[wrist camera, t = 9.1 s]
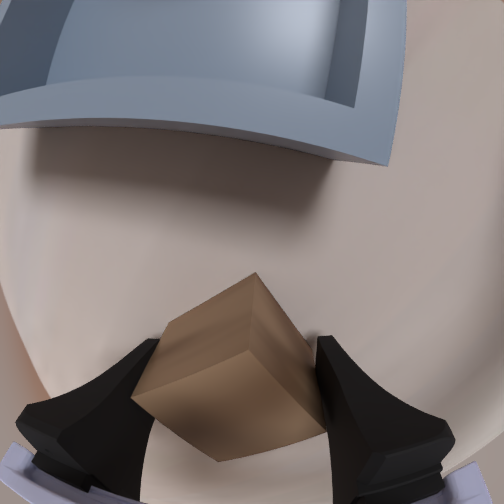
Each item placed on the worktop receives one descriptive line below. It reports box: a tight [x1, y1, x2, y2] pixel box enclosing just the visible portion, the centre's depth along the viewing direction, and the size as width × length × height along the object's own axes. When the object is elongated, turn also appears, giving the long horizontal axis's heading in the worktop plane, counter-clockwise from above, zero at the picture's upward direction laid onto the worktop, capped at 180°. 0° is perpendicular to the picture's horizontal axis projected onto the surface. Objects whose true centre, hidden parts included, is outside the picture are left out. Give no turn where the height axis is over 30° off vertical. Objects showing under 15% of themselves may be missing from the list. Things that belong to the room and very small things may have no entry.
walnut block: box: [131, 272, 327, 462], centre depth 11 cm, size 5×5×5 cm
